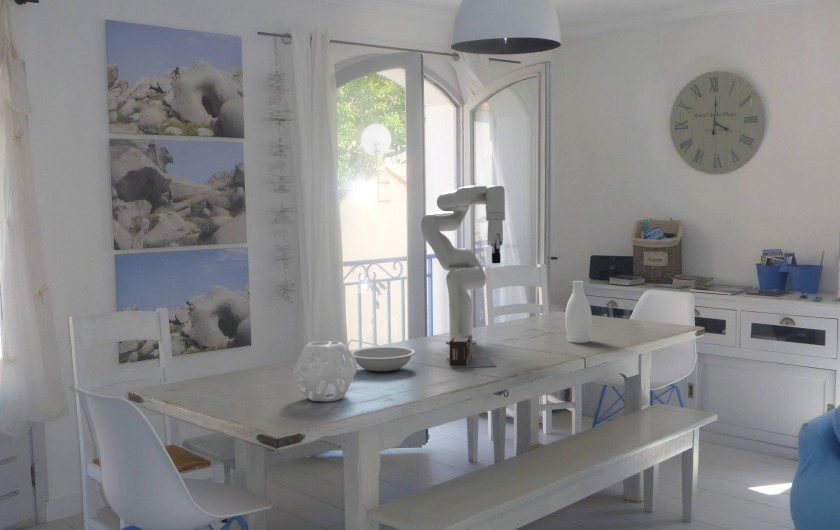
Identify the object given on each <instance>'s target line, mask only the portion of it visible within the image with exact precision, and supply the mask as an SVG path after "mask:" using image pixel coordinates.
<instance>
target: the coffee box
mask: <svg viewBox="0 0 840 530" xmlns="http://www.w3.org/2000/svg"><path fill="white" fill-rule="evenodd" d="M472 338H473V333H472V334H457V335H456V336H455V337H454V338H453V339H452V340H451V341H450V344H449V358H450V364H449V366H450V367H451V366H466V365H467V364H468V362H469V361H470V360H471V358H472V357H473V355H474V354H473V353H474V352H473V351H474V349H473V346H474V345H473V343H472Z"/></svg>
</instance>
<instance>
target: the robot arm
mask: <svg viewBox="0 0 840 530" xmlns="http://www.w3.org/2000/svg"><path fill="white" fill-rule="evenodd" d="M505 193H506V191H505V187H504V186H503V185H467V186H463V187H458V188H457V189H455V190H450V191H446V192H442V193H441V194H439V196H438V197H437V200H436V206H437V207H438V208H439V210H441V211H435V212H429V213H426V214H425V215H424V216H423V217H422V218H421V222H420V229H421V233H422V236H423V238H424V240H425V241H426V242H427V244H428V245H429V246H430V248H431V250H432V251H433V253H434V255H435V258H436V259H437V261H438V262H439V264H440V267H442V269H443V270H445V271H446V272H447V274H446V276H445V280H446V281H445V282H446V287H447V292H448V308H449V309H448V313H449V338H447V339H446V340H445V343H446V344H449V345H450V341H451V340H452V339H453V338H454V337H455V336H456V335H457V334H472V335H473V317H472V316H473V315H472V314H473V312H472V298H471V296H470V294H469V293H468V291H470V290H472V291H473V290H479V289H483V288H484V287H485V285H486V283H487V277H486V276H487V275H486V272H485V270H484V269H483V267H482V265H481V263H480V261H479V260H478V257H477V255H476V254H475V253H474V252H473V251H472V249H469V248H465V247H461V248H459V247H458V248H457V247H454V246H453V244H452V242H451V240H450V239H449V238H448V237H447V236H446V235H445V234H443V233H442V232H453V231H456V230H458V229H459V228H460V227H461V225H462V224H463V221H464V219H465V218H466V215H467V213H468V211H469V209H470V206H471V205H472V206H473V205H475V206H476V205H485V221H486V222H487V243H486V244H487V246H491V263H492V264H501V246H503V244H504V228H503V227H504V226H503V225H504V224H503V221H506V194H505ZM476 342H477V340H476V338H473V337H472V344H475V343H476Z"/></svg>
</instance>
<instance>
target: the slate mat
mask: <svg viewBox="0 0 840 530" xmlns="http://www.w3.org/2000/svg"><path fill="white" fill-rule="evenodd" d="M446 360H447V362H448V363H449V365H450V357H447V358H446ZM450 367H451V369H471V368H474V369H476V368H496V367H497V365H496V364H495V362H494V361H493V360H492V359H491V358H490V356H479V357H478V356H472V358H471V360H470V361H469V362H468V364H467V365H466V366H451V365H450Z"/></svg>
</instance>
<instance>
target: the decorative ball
mask: <svg viewBox="0 0 840 530" xmlns="http://www.w3.org/2000/svg"><path fill="white" fill-rule="evenodd" d="M339 350H340V351H339ZM316 352H319V353H320V357H319V358H318V357H317V354H316ZM351 352H352V351H351V350H350V348H349V347H348V346H347V345H346V344H345V343H343V342H341V341H338V340H332V341H330V340H315V341H311V342H309V343H307V344H306V345H305V346H304V347H303V350H302V353H301V354H300V356H299V358H298V360H297V362H296V364H295V366H294V369H293V371H292V377H293V380H294V382H295V385H296V386H297V388H298V390H299V391H300V392H301V393H302V394H303V395H304V396H305V397H306V398H307V399H308V400H310V401H312V402H325V403H326V402H330V403H331V402H335V401H339V400H342V399H343V398H344V397H345V396H346V394H347V392H348V390H349V388H350V386H351V383H352V381H353V379H354V377H355V375H356V373H357V371H358V364H357V363H356V360H355V358H354V356H353V354H352V353H351ZM312 358H313V363H312V362H311V360H312ZM326 360H327V362H326ZM303 368H307V372H304V371H303ZM323 380H325V381H323ZM302 384H303V385H304V386H305V387H303V386H302ZM330 384H333V385H334V389H332V388H331V387H330ZM328 396H330V397H328Z"/></svg>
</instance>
